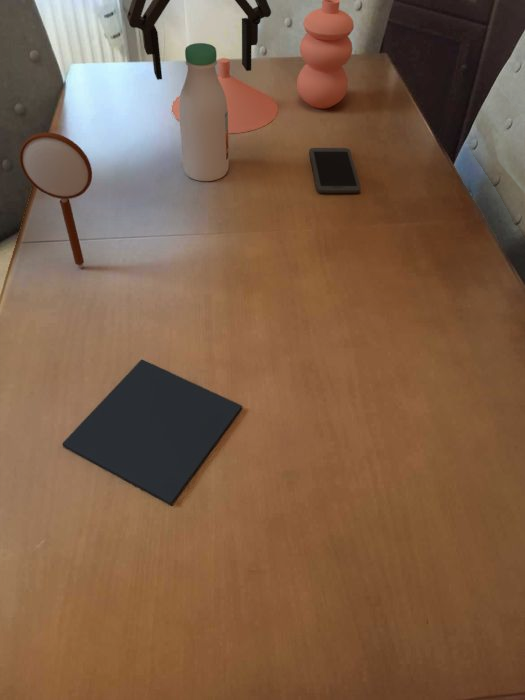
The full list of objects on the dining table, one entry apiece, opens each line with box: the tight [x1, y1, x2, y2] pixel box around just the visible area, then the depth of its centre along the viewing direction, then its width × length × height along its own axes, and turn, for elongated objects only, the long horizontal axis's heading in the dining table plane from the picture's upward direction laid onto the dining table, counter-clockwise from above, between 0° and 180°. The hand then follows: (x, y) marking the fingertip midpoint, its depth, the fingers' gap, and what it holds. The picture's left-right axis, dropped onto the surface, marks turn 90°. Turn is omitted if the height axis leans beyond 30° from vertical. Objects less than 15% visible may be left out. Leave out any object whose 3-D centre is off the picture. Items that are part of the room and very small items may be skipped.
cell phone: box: [308, 147, 362, 194], centre depth 103 cm, size 7×14×1 cm, turn 3°
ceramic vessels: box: [171, 0, 355, 135], centre depth 112 cm, size 35×21×19 cm, turn 100°
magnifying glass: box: [19, 132, 93, 269], centre depth 77 cm, size 9×2×20 cm, turn 85°
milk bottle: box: [179, 42, 230, 182], centre depth 95 cm, size 8×8×20 cm
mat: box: [61, 359, 243, 507], centre depth 66 cm, size 14×14×1 cm
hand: (203, 71), depth 90 cm, fingers open, 13 cm apart
